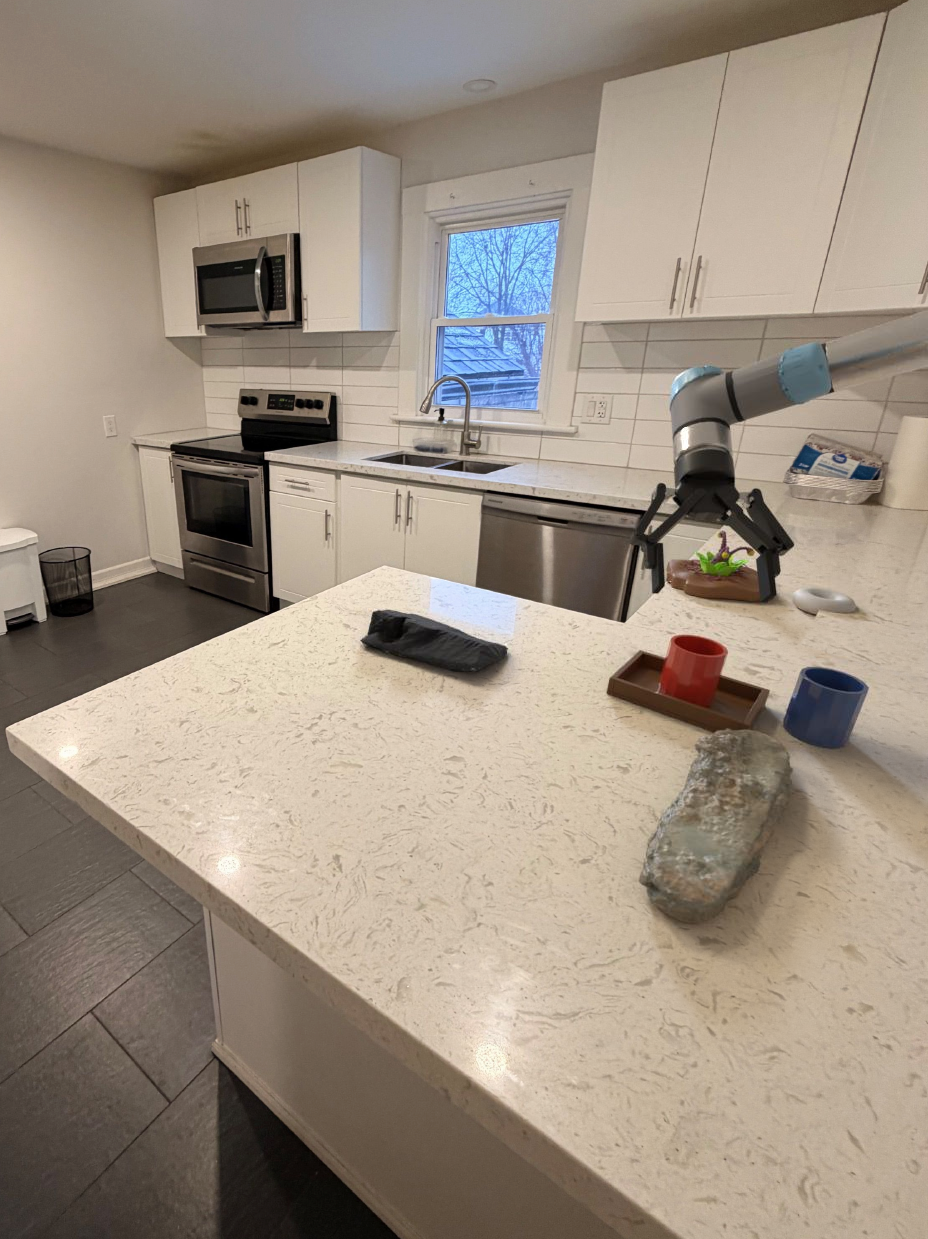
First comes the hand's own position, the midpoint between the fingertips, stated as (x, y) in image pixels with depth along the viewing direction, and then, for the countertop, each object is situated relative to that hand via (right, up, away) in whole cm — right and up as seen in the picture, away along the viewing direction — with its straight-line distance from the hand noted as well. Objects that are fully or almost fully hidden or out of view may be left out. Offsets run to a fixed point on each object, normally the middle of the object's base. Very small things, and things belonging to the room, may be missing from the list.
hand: (712, 594), depth 86 cm
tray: (-1, -15, +6) cm, 16 cm away
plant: (+31, +3, +51) cm, 59 cm away
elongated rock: (-10, -25, -18) cm, 32 cm away
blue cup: (+12, -18, -1) cm, 22 cm away
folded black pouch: (-34, -9, +19) cm, 40 cm away
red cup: (-1, -14, +6) cm, 15 cm away
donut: (+44, -2, +38) cm, 59 cm away
